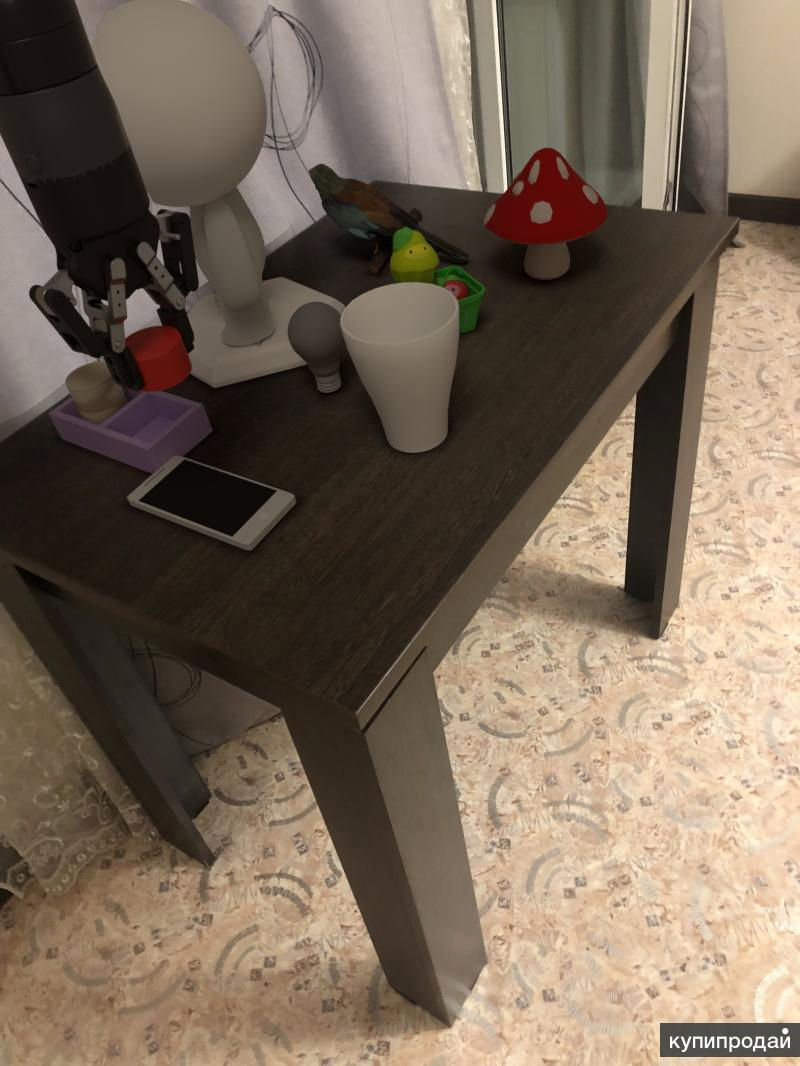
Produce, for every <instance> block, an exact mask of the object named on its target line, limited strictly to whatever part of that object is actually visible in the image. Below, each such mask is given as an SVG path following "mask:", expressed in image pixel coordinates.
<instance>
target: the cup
mask: <svg viewBox="0 0 800 1066" xmlns="http://www.w3.org/2000/svg"><path fill="white" fill-rule="evenodd" d="M340 327H341V330H342V333H343V337H344V340H345V343H344V344H345V346H346V350H347V352H348V354H349V357H350V359H351V360H352V363H353V366H354V368H355V370H356V373H357V374H358V377H359V379H360V381H361V383H362V385H363V387H364V389H365V390H366V392H367V394H368V396H369V398H370V399H371V401H372V403H373V406H374V408H375V410H376V412H377V414H378V416H379V419H380V421H381V425H382V428H383V430H384V434H385V436H386V440H387V442H388V444H389V445H390V446H391V447H392V448H393V449H395V450H397V451H399V452H402V453H409V454H417V453H424V452H427V451H431V450H432V449H435V448H436V447H438V446H440V445H441V444H442V443H443V442H444V441H445V439H446V438H447V436H448V433H449V432H448V431H449V412H448V411H449V405H450V404H449V403H450V399H451V398H450V397H451V392H452V391H451V390H452V384H453V379H454V375H455V370H456V366H457V356H458V350H459V339H460V333H459V305H458V300H457V299H456V298H455V296H454V295H453V294H452V293H451V292H449V291H448V290H446V289H445V288H443V287H440V286H437V285H433V284H428V283H420V282H404V283H390V284H386V285H382V286H379V287H376V288H373V289H371V290H368V291H366V292H364V293H362V294H360V295H359V296H357V297H356V298H354V299H352V300H351V302H349V303H348V304H347V305H345V309H344V311H343V313H342V315H341V317H340Z"/></svg>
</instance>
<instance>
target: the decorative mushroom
mask: <svg viewBox="0 0 800 1066" xmlns="http://www.w3.org/2000/svg"><path fill="white" fill-rule="evenodd" d="M608 213H609V210H608V208H607V206H606V203H605V201H604V199H603V197H601V195H600V194H599V192H598V191H597V190H596V189H595V188H594V187H592V186H590V185H589V184H588V183H587V182H586V180H584V179H583V178H582V177H581V176H580V175H579V174H578V172H577V170H576V168H574V167H573V166H572V165H571V164H570V163H569V162H568V160H567V159H566V158H565V156H564V155H562V153H561V152H559V151H558V150H556V149H555V148H553V147H543V148H541V149H538V150H537V151H535V152H534V153H533V154H532V156H531V157H530V158H529V159H528V161H527V162H526V164H525V165H524V167H523V168H522V170H521V171H518V172H517V173H516V174H515V176H514V177H513V179H512V183H510V185H509V187H508V188H507V189H506V190H505V191H504V192H503V193H502V194H501V196H500V197H498V199H496V201H495V202H494V203H493V204H492V205H491V206H490V208H488V210H487V212H486V213H485V215H484V219H483V226H484V228H485V229H487V230H488V231H489V232H491V233H492V234H494V235H496V236H497V237H499V238H501V239H503V240H506V241H507V242H512V243H516V244H519V245H520V244H521V245H527V247H526V251H525V255H524V262H523V267H524V271H525V273H526V274H527V275H528V276H529V277H530V278H533V279H535V280H540V281H551V280H555V279H558V278H561V277H562V276H563V275H565V273H567V272H568V270H569V269H570V265H571V257H570V256H571V255H570V252H569V249H568V244H567V243H568V242H571V241H574V240H577V239H581V238H583V237H585V236H587V235H589V234H591V233H593V232H595V231H596V230H597V229H598V228H600V227H601V226H602V225H604V223H605V222H606V220H607V219H608Z"/></svg>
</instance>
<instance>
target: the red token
mask: <svg viewBox="0 0 800 1066" xmlns="http://www.w3.org/2000/svg"><path fill="white" fill-rule="evenodd" d="M125 343H126V346H127V347H130V349H131V351H132V354H133V356H134V358H135V361H136V363H137V365H138V368H139V370H140V372H141V375H142V377H143V380H144V382H145V387H143V388H142V389H141V391H146V392H154V391H164V390H167V389H170V388H174V387H175V386H177V385H179V384H180V383H182V382H183V381H185V380H186V379H187V378H188V377H189V375H191V374H190V372H191V370H192V364H191V361H190V358H189V355H188V353H187V350H186V347H185V345H184V342H183V339H182V336H181V334H180V332H179V331H178V330H177V329H176V328H174V327H171V326H162V325H153V326H148V327H145V328H141V329H139V330H137V331H134V332H133V333H131V334H129V335H128V336H126V337H125Z"/></svg>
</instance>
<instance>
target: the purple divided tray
mask: <svg viewBox="0 0 800 1066" xmlns="http://www.w3.org/2000/svg"><path fill="white" fill-rule="evenodd" d="M122 389H123V391H124V393H125V395H126V398H127V400H128V402H129V403H127V404H126V405H125V406H124V407H122V408H121V409H120V410H118V411H117V412H116V413H114V414H113V415H112V416H111V417H109V418H108V419H107V420H105V421H104V422H103V423H101V424H100V425H96V424H93V423H90V422H88V421H85V420H83V418H82V416H81V414H80V412H79V410H78V408H77V406H76V404H75V402H74V400H73V398H72V396H69V398H68V399H66V400H64V401H63V402H62V403H61V404H59V405H58V406H56V407H55V408H54V409H52V410H51V411H49V412H48V415H49V418H50V419H51V421H52V423H53V425H54V427H55V429H56V430H57V433H58V435H59V436H60V439H61V440H63V441H66V442H68V443H71V444H73V445H76V446H79V447H81V448H83V449H86V450H89V451H92V452H94V453H97V454H100V455H102V456H104V457H107V458H109V459H112V460H115V461H118V462H121V463H123V464H126V465H127V466H130V467H133V468H136V469H138V470H140V471H143V472H147V473H149V474H151V475H152V474H153V473H154V472H156V471H157V470H158V469H159V468H160V467H161V466H162V465H164V464H165V463H166V462H167V461H168V460H169V459H170V458H172V457H173V456H175V455H178V456H182V457H185V455H187V454H188V453H190V451H192V450H193V449H194V448H195V447H196V446H197V445H199V444H200V443H201V442H202V441H203V440H204V439H205V438H207V437H208V436H209V435H210V434H211V433H212V432H213V431H214V429H213V427H212V425H211V422H210V420H209V417H208V414H207V411H206V408H205V406H204V404H203V403H201V402H199V401H194V400H191V399H188V398H185V397H183V396H179V395H175V394H172V393H169V392H166V391H164V390H161V391H154V392H146V391H141V390H139V391H134V390H131V389H129V388H126V387H124V386H122Z"/></svg>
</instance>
